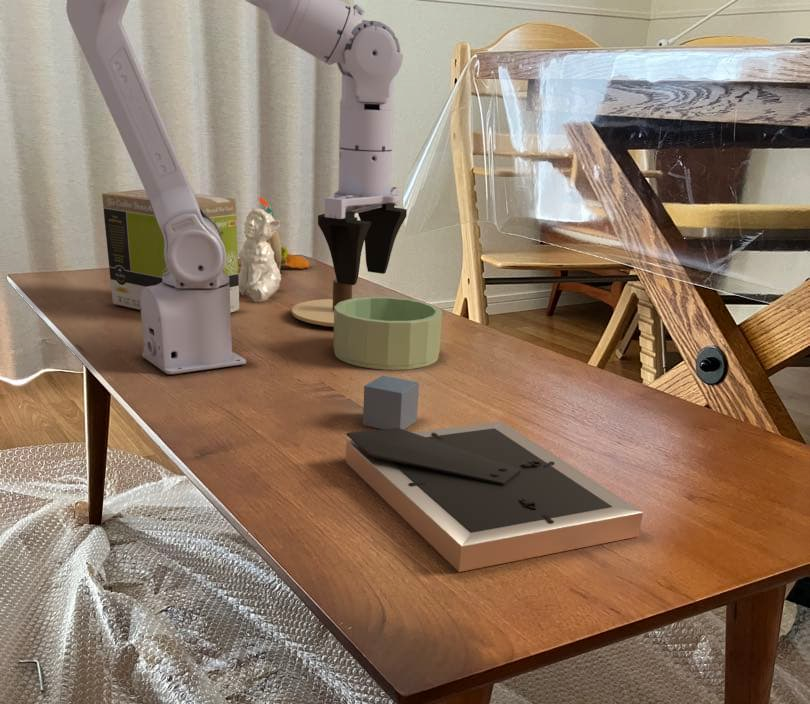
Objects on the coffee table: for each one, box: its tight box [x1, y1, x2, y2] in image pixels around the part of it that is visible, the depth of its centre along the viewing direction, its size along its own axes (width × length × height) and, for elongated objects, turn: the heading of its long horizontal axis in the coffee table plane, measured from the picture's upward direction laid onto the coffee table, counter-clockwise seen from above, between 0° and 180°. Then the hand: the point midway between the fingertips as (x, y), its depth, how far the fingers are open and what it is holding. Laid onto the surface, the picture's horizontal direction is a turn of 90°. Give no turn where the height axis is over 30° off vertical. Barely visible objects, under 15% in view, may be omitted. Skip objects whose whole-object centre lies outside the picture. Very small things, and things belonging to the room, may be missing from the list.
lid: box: [291, 278, 353, 328], centre depth 124 cm, size 14×14×5 cm
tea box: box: [101, 189, 240, 313], centre depth 122 cm, size 15×10×15 cm
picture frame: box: [345, 420, 644, 573], centre depth 74 cm, size 16×3×21 cm
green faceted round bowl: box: [333, 296, 443, 371], centre depth 109 cm, size 13×13×6 cm
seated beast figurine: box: [238, 207, 282, 303], centre depth 133 cm, size 10×9×12 cm
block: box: [362, 375, 420, 430], centre depth 89 cm, size 4×4×4 cm
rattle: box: [258, 196, 310, 271], centre depth 149 cm, size 8×8×12 cm
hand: (362, 277), depth 104 cm, fingers open, 7 cm apart
